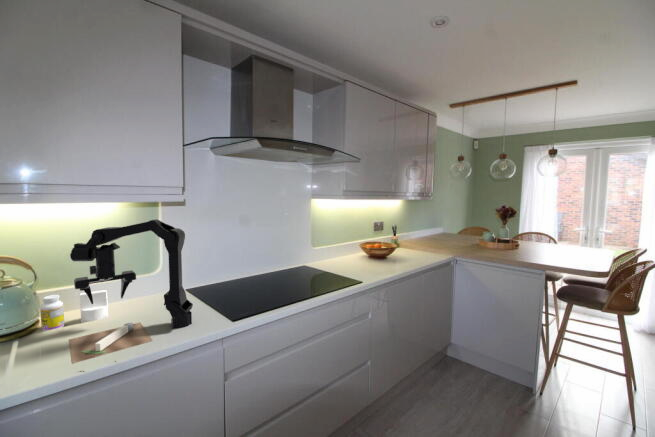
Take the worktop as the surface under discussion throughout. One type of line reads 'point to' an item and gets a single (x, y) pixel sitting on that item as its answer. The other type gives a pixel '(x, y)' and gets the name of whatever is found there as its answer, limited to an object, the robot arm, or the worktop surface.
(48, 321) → the supplement bottle
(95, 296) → the white open-front box
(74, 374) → the worktop surface
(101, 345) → the dial needle
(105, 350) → the board
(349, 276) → the worktop surface
